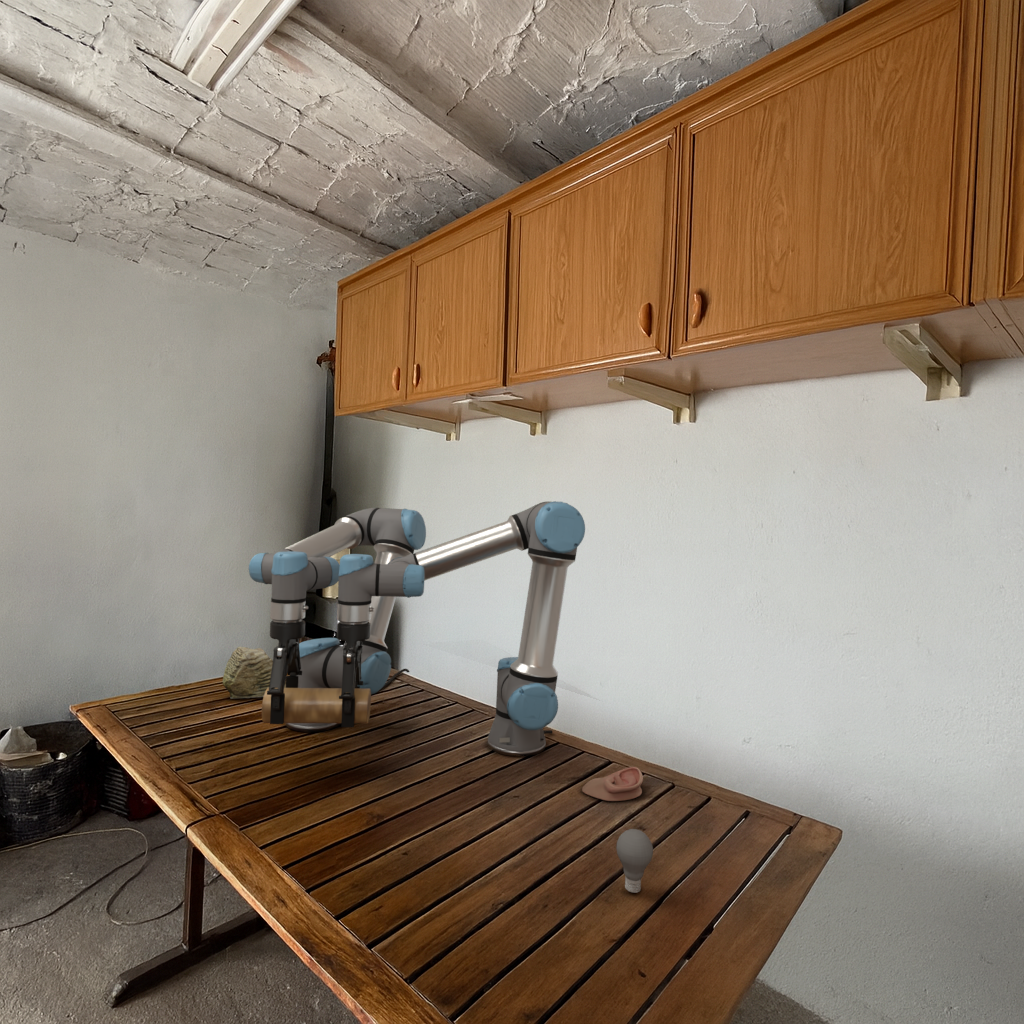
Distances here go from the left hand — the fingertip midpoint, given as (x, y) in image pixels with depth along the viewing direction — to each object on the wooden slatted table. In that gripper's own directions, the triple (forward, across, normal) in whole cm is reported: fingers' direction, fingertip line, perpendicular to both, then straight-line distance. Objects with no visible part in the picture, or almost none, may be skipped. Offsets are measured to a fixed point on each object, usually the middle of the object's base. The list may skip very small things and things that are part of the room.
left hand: (284, 713), depth 144 cm
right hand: (+1, 0, -15) cm, 15 cm away
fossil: (+14, +56, +22) cm, 62 cm away
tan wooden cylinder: (+2, 0, -7) cm, 8 cm away
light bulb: (+14, -47, -68) cm, 84 cm away
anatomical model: (+14, -10, -74) cm, 76 cm away
